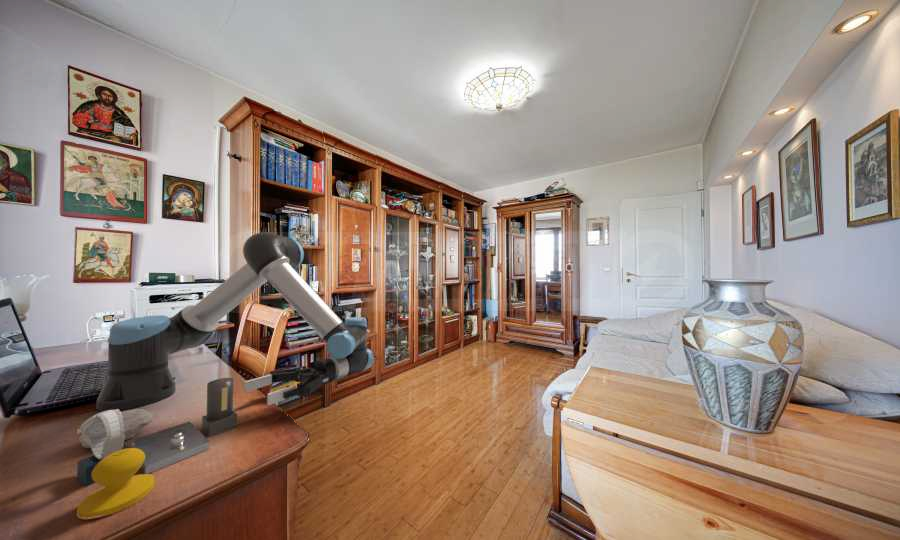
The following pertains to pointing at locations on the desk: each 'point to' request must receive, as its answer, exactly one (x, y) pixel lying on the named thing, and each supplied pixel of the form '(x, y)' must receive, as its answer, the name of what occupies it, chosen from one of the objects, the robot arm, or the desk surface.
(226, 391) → the cylinder
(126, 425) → the fossil
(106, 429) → the watch
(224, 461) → the desk surface
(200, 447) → the hub plate
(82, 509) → the yellow stacked oval discs
